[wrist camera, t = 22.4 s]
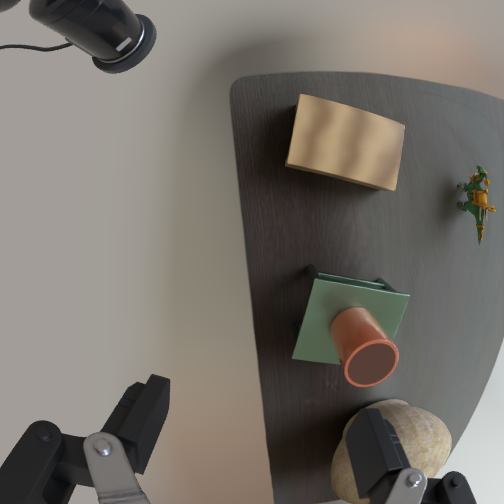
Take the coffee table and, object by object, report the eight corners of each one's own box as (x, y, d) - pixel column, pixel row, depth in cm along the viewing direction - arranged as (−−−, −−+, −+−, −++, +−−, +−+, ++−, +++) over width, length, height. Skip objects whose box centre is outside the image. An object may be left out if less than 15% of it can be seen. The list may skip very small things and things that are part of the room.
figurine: (468, 166, 35) (499, 166, 27) (468, 238, 37) (499, 249, 29) (455, 165, 35) (487, 164, 27) (456, 239, 37) (486, 250, 29)
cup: (324, 317, 33) (338, 354, 25) (369, 299, 32) (395, 330, 24) (336, 355, 34) (350, 395, 26) (378, 338, 33) (401, 373, 25)
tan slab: (284, 166, 37) (286, 163, 32) (296, 104, 35) (300, 93, 30) (380, 190, 37) (394, 191, 32) (390, 131, 35) (405, 125, 30)
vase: (299, 427, 47) (310, 563, 18) (395, 358, 43) (473, 490, 13) (358, 461, 50) (382, 562, 20) (437, 406, 45) (493, 501, 16)
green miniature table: (287, 329, 42) (291, 358, 34) (305, 260, 39) (314, 278, 32) (364, 340, 42) (380, 367, 34) (386, 276, 39) (409, 295, 32)
